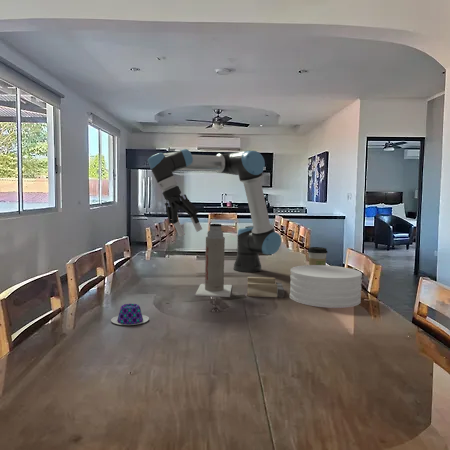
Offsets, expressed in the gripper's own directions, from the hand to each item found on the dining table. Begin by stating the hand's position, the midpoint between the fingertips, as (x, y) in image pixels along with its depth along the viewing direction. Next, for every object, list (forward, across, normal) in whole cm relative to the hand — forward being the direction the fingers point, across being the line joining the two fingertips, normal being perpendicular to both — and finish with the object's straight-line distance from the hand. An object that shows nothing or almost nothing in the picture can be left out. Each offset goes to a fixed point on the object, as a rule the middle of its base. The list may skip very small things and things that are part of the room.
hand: (190, 233), depth 185 cm
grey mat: (+26, +4, -4) cm, 27 cm away
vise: (+35, +18, +9) cm, 41 cm away
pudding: (+13, +22, -51) cm, 57 cm away
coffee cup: (+50, +9, +52) cm, 72 cm away
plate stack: (+46, +38, +19) cm, 62 cm away
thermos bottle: (+26, +4, -4) cm, 26 cm away
